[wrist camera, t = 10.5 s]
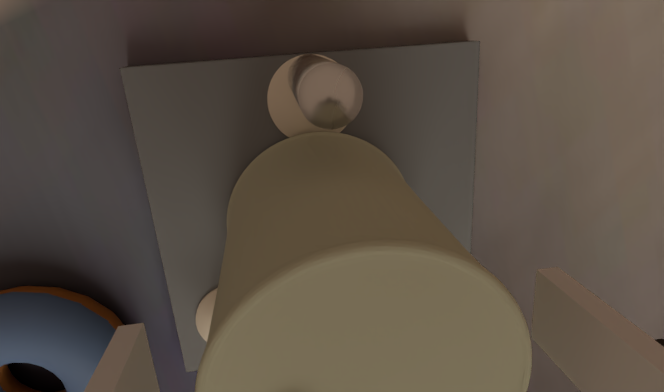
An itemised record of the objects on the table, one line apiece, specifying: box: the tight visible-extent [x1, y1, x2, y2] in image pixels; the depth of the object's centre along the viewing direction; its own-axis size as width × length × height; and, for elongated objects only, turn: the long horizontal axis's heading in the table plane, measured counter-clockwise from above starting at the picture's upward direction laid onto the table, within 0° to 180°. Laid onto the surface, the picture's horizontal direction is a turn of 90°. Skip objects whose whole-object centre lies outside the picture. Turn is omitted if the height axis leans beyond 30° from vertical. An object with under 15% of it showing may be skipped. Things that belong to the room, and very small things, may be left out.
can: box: [195, 132, 532, 392], centre depth 17 cm, size 9×9×12 cm
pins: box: [288, 54, 363, 130], centre depth 19 cm, size 14×12×7 cm
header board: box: [120, 41, 480, 372], centre depth 23 cm, size 16×16×1 cm
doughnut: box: [0, 286, 124, 392], centre depth 23 cm, size 10×10×5 cm
